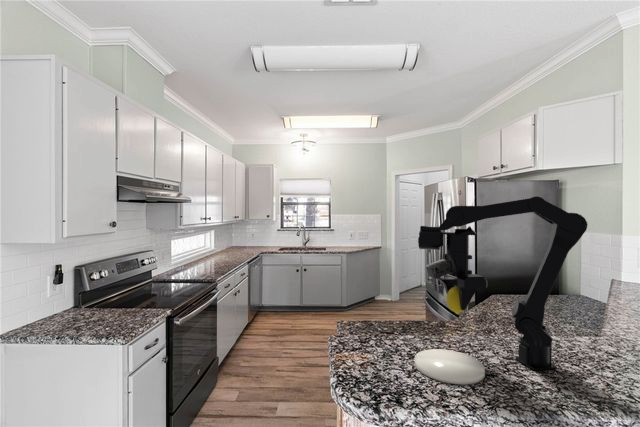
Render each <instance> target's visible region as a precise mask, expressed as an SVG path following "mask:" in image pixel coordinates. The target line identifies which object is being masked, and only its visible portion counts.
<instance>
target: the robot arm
mask: <svg viewBox="0 0 640 427" xmlns="http://www.w3.org/2000/svg"><path fill="white" fill-rule="evenodd" d="M528 213H532V214H535V215H536V216H538V217H539V218H541V219H542V220H544V221H546V222H548V223H549V224H550V225H551V230H550V235H549V245H548V247H547V249H546V252H545V254H544V257H543V258H542V261H541V264H540V265H539V268H538V271H537V272H536V275H535V276H534V279H533V280H532V284H531V286H530V288H529V291H528V293H527V294H526V296H524V298H523V299H521V298H519V297H516V300H515V305H514V306H513V308H512V309H511V310H510V311H511V315H512V320H513V324H514V327H515V329H516V330H517V332H518V333H520V334H521V335H522V336H521V337H519V343H518V356H515V360H517V361H518V362H520V363H522V364H524V365H525V366H526V367H528V368H529V369H531V370H533V371H539V370H541V371H543V370H554V369H555V370H556V369H558V366H557V365H555V364H553V363H552V362H553V360H552V356H553V355H552V354H553V353H552V349H553V347H552V345H553V344H552V342H553V338H552V336H551V334H550V332H549V331H548V328H547V327H546V326H545V325H544V324H543V323H544V318H545V309H546V302H547V301H548V298H549V296H550V294H551V292H552V290H553V287H554V286H555V282H556V280H557V279H558V276H559V274H560V272H561V269H562V268H563V266H564V263H565V261H566V258H567V256H568V254H569V252H570V251H571V250H572V248H574V246H576V244H578V242H579V241H580V239H581V238H582V236H583V235H584V234H585V233H586V232H587V230H588V222H587V220H586V218H585V217H584V216H582V214H579V213H577V212H567V211H565V209H562V208H560V207H558V206H557V205H556V204H555V205H554V204H553V203H551V202H550V201H547V200H545V199H544V198H543V197H541V196H537V195H536V196H532V197H529V198H525V199H524V198H523V199H517V200H510V201H505V202H499V203H492V204H485V205H454V206H451V207H450V208H448V210H447V211H446V214H445V219H444V220H443V221H442V223H440V225H439V226H427V225H420V226H419V229H420V230H419V233H418V237H417V238H418V239H417V240H418V241H417V244H418V248H419V250H431V251H432V250H433V251H434V250H435V251H437V250H438V251H440V250H441V247H442V248H443V247H445V243H446V253H443V255H442V259H439V260H436V261H434V262H431V263H427V264H426V265H425V268H426V271H427V274H428V277H430V278H433V279H435V280H438V281H439V282H440V283H442V284H443V286H444V290H445V293H446V295H447V294H448V291H449V290H450V289H451V288H453V287H456V288H457V290H458V291H459V300H460V307H461V310H464V311H465V310H466V309H467V308H468V306H469V304H470V302H471V300H472V298H473V297H474V295H475V294H476V293H477V291H478V290H479V289H487V288H488V279H487V278H486V277H485V276H483V275H480V274H477V273H473V270H471V269H470V268H469V266H470V264H469V263H470V262H469V260H473V255H471V254H469V253H470V252H469V250H470V249H469V248H470V247H469V245H470V243H469V242H470V240H469V238H470V237H469V236H476V234H477V232H476V231H475V230H473V228H472V227H471V225H469V224H472V223H475V222H479V221H482V220H486V219H487V220H488V219H493V218H499V217H507V216H508V217H509V216H515V215H523V214H528ZM466 225H469V226H468V227H467V228H459V227H463V226H466ZM454 227H458V228H455V229H454V231H450V232H449V231H448V230H451V229H452V228H454ZM445 235H446V236H445ZM445 237H446V238H445ZM445 240H446V241H445Z"/></svg>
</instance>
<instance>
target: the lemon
mask: <svg viewBox="0 0 640 427" xmlns="http://www.w3.org/2000/svg"><path fill="white" fill-rule="evenodd" d="M446 304H447V307H448V309H449V310H450V311H451V312H454V314H456V315H459V314H460V313H463V312H465V310H461V307H460V300H459V291H458V290H457V288H456V287H453V288H451V289H450V290H449V291H448V294H447V293H446Z"/></svg>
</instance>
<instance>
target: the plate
mask: <svg viewBox="0 0 640 427" xmlns="http://www.w3.org/2000/svg"><path fill="white" fill-rule="evenodd" d="M414 367H415V368H416V369H417V370H418V371H419V372H420V373H421V374H423V375H424V376H427V377H428V378H431V379H433V380H436V381H439V382H442V383H447V384H453V385H473V384H476V383H477V384H478V383H479V382H481V381H482V380H484V379H485V377H486V374H485V373H486V368H485V365H483V363H482V362H480V361H479V360H478V359H477V358H474V357H473V356H470V355H468V354H466V353H463V352H459V351H455V350H449V349H443V348H441V349H440V348H433V349H432V348H431V349H424V350H422V351H419V352H417V353H416V354H415V355H414Z"/></svg>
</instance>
